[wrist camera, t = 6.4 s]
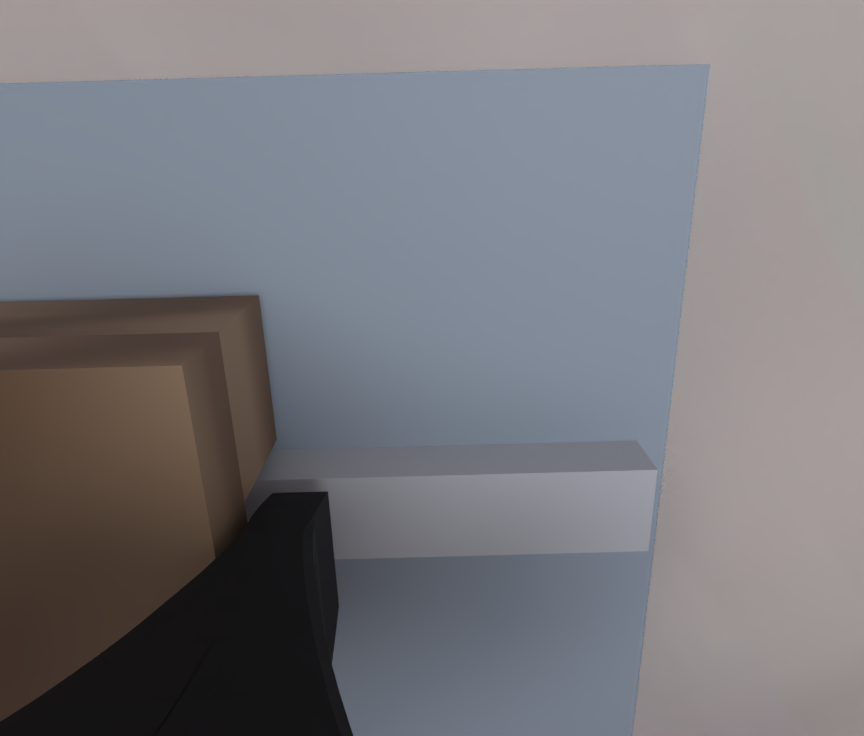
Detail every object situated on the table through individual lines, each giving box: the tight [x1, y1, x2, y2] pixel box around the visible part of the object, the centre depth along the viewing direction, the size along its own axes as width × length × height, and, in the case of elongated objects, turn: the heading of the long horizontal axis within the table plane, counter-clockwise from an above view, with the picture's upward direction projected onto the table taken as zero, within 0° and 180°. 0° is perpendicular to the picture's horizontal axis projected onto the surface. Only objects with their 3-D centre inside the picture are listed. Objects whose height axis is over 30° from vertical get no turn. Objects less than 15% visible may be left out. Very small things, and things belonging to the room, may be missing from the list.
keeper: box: [0, 295, 277, 721], centre depth 9 cm, size 5×7×3 cm
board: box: [0, 64, 710, 736], centre depth 10 cm, size 14×13×4 cm
